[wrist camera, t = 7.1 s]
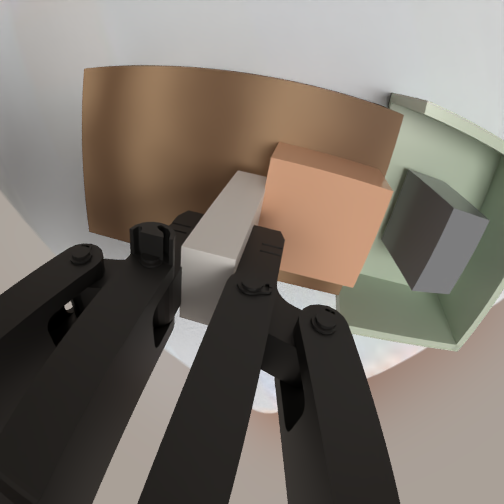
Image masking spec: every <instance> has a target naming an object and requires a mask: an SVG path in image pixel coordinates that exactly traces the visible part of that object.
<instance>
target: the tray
mask: <svg viewBox="0 0 504 504" xmlns="http://www.w3.org/2000/svg"><path fill="white" fill-rule="evenodd" d="M388 108H389V109H391V110H394V111H396V112H398V113H401V114H403V115H404V117H403V121H402V124H401V128H400V131H399V135H398V138H397V141H396V145H395V148H394V151H393V154H392V157H391V161H390V164H389V167H388V170H387V173H386V176H385V179H386V180H387V182H388V184H389V185H390V187H391V188H392V190H393V191H394V192H393V194H392V197H391V200H390V202H389V205H388V208H387V210H386V213H385V215H384V218H383V220H382V223H381V225H380V228H379V230H378V233H377V235H376V238H375V240H374V242H373V245H372V247H371V249H370V252H369V254H368V256H367V259H366V261H365V263H364V265H363V268H362V270H361V272H360V274H359V276H358V278H357V281H356V283H355V285H354V287H353V288H352V287H347V286H342V289H341V291H340V293H339V295H336V310H337V311H338V312H339V313H340V314H341V315H343V316H344V318H345V319H346V321H347V323H348V325H349V328H350V330H351V333H352V334H356V335H361V336H366V337H371V338H377V339H382V340H388V341H393V342H399V343H405V344H411V345H417V346H424V347H430V348H437V349H443V350H450V351H458V350H459V349H460V348H461V347H462V345H463V344H464V343H465V342H466V341H467V339H468V338H469V337H470V335H471V334H472V333H473V332H474V330H475V329H476V328H477V326H478V325H479V324H480V322H481V321H482V320H483V318H484V317H485V316H486V314H487V313H488V311H489V310H490V308H491V307H492V306H493V304H494V303H495V301H496V300H497V298H498V297H499V295H500V294H501V292H502V291H503V289H504V141H503V140H502V139H500V138H499V137H497V136H495V135H494V134H492V133H490V132H488V131H487V130H485V129H483V128H481V127H480V126H478V125H476V124H474V123H472V122H470V121H468V120H467V119H465V118H463V117H461V116H459V115H457V114H455V113H453V112H451V111H449V110H447V109H444V108H442V107H440V106H438V105H436V104H434V103H431V102H429V101H426V100H422V99H418V98H414V97H409V96H405V95H400V94H395V93H392V94H391V98H390V102H389V106H388ZM408 169H410V170H413V171H416V172H419V173H422V174H425V175H428V176H430V177H433V178H436V179H439V180H442V181H444V182H445V183H447V184H448V185H449V186H450V187H452V188H453V189H454V190H455V191H457V192H458V193H459V194H460V195H461V196H463V197H464V198H465V199H466V200H467V201H469V202H470V203H471V204H472V205H473V206H474V207H475V208H477V209H478V210H479V211H480V212H481V213H482V214H483V215H484V216H485V217H487V218H488V219H489V220H490V221H489V223H488V225H487V227H486V229H485V231H484V233H483V235H482V237H481V239H480V241H479V243H478V245H477V247H476V249H475V251H474V253H473V255H472V256H471V258H470V260H469V262H468V264H467V265H466V267H465V269H464V271H463V272H462V274H461V276H460V277H459V279H458V281H457V282H456V284H455V286H454V287H453V289H452V290H451V292H450V294H440V293H429V292H418V291H412V290H411V289H410V287H409V285H408V283H407V282H406V280H405V278H404V276H403V275H402V273H401V271H400V270H399V268H398V266H397V265H396V263H395V261H394V260H393V258H392V256H391V255H390V253H389V251H388V250H387V248H386V247H385V245H384V244H383V242H382V240H381V238H382V236H383V234H384V231H385V229H386V227H387V224H388V222H389V219H390V217H391V214H392V212H393V209H394V207H395V204H396V202H397V199H398V196H399V194H400V191H401V188H402V186H403V183H404V180H405V178H406V175H407V172H408Z"/></svg>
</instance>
